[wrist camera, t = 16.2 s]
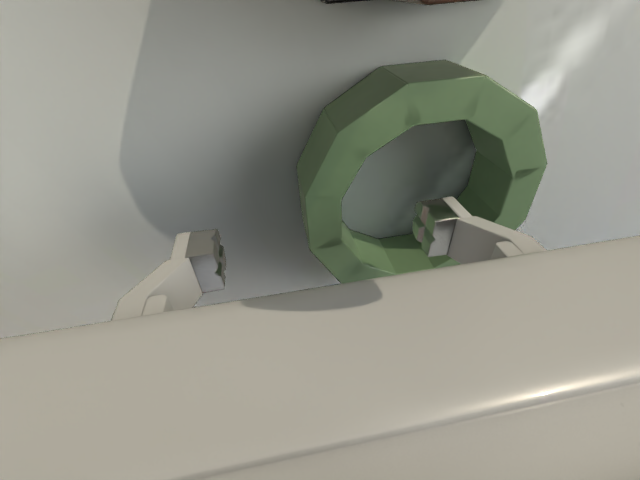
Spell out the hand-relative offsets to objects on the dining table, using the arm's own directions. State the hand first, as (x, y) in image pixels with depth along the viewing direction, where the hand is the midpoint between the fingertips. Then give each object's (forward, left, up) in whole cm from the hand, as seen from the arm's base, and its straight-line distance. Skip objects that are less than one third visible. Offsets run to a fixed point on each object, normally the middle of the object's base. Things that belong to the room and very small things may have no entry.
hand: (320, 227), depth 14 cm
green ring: (-1, -5, -4) cm, 7 cm away
